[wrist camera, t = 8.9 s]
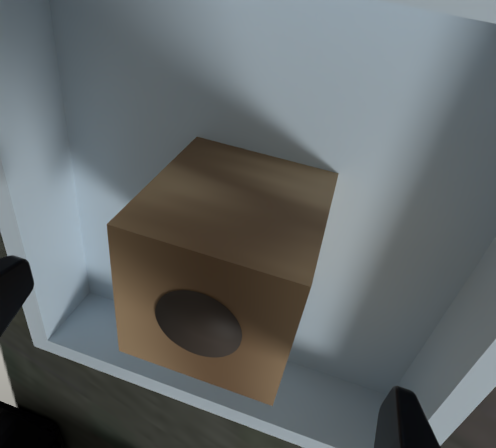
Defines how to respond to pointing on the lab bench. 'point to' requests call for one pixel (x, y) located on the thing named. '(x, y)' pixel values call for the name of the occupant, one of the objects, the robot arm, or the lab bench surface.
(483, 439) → the lab bench surface
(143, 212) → the walnut block
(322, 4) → the sorting tray
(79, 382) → the lab bench surface
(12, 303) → the robot arm
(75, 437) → the lab bench surface
